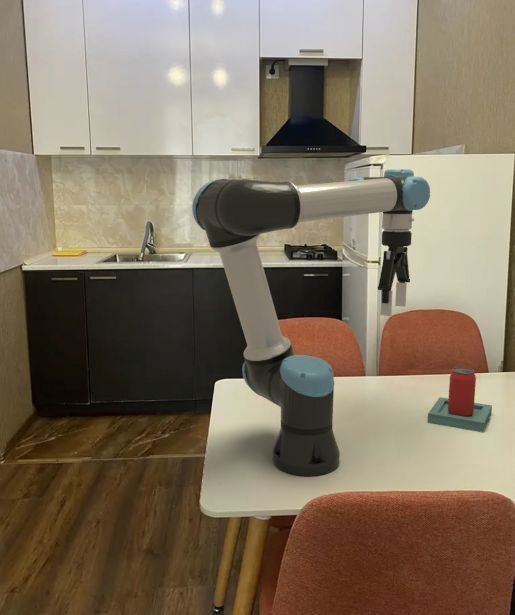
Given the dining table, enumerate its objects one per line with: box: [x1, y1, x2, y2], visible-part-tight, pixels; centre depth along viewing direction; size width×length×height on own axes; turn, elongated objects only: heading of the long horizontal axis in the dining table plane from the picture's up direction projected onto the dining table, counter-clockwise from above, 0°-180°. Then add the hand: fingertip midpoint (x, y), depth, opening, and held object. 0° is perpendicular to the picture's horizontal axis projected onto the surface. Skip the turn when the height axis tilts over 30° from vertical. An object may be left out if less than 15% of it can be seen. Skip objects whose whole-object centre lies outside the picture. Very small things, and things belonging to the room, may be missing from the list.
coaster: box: [427, 396, 493, 433], centre depth 163 cm, size 14×14×2 cm
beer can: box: [448, 366, 477, 417], centre depth 161 cm, size 7×7×12 cm
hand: (393, 310), depth 161 cm, fingers open, 13 cm apart
